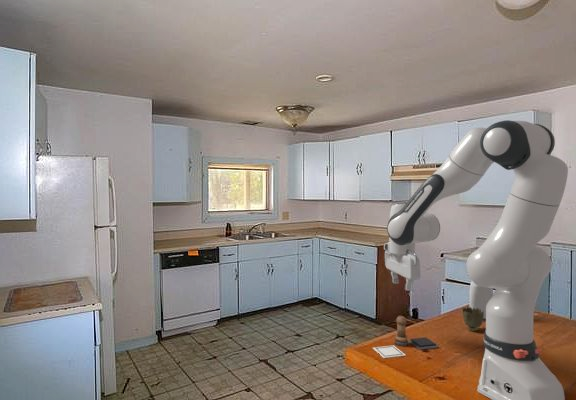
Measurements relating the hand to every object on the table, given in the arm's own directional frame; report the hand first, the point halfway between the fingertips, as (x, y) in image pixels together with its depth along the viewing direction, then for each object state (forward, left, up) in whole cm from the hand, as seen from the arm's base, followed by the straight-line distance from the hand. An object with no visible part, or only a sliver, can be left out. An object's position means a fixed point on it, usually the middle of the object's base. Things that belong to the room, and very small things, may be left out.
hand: (401, 286), depth 133 cm
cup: (+4, -33, -20) cm, 38 cm away
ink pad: (-4, -6, -20) cm, 21 cm away
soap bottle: (+15, -47, -20) cm, 53 cm away
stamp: (-1, +1, -20) cm, 20 cm away
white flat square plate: (-6, +8, -20) cm, 22 cm away
